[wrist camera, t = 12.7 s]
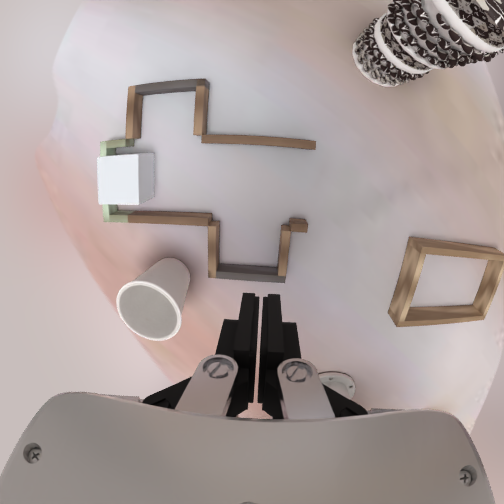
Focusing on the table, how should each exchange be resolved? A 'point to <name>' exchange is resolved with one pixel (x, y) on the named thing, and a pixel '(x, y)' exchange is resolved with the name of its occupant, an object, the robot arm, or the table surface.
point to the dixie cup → (155, 300)
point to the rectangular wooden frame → (443, 314)
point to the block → (125, 178)
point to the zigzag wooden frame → (201, 219)
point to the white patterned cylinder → (428, 38)
